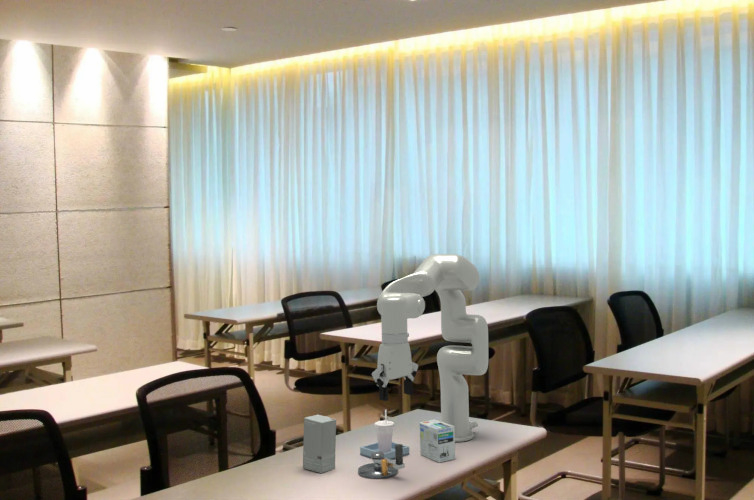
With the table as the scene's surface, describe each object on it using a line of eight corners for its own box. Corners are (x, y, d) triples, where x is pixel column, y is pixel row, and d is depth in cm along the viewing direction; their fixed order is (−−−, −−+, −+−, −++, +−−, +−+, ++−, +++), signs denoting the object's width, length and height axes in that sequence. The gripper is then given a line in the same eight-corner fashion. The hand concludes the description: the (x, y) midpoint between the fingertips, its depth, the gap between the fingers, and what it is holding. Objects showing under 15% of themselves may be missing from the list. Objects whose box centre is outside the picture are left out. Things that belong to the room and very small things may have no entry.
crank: (368, 461, 242) (367, 439, 242) (377, 458, 245) (377, 436, 245) (397, 470, 234) (396, 447, 233) (406, 466, 237) (406, 444, 236)
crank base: (379, 463, 251) (379, 445, 251) (406, 472, 242) (406, 454, 241) (350, 472, 243) (349, 454, 243) (376, 482, 234) (376, 463, 234)
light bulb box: (456, 459, 253) (455, 425, 252) (438, 463, 249) (437, 429, 249) (436, 451, 262) (435, 418, 262) (419, 454, 259) (418, 421, 258)
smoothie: (393, 456, 256) (392, 412, 255) (373, 455, 257) (372, 412, 257) (396, 450, 262) (395, 407, 262) (377, 449, 263) (376, 407, 263)
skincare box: (302, 468, 248) (300, 418, 247) (318, 463, 253) (317, 413, 252) (321, 474, 242) (320, 422, 241) (338, 468, 248) (336, 417, 247)
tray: (386, 447, 268) (385, 439, 267) (409, 454, 259) (409, 446, 259) (360, 454, 260) (360, 447, 260) (383, 462, 252) (383, 454, 252)
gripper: (407, 333, 242) (408, 390, 243) (363, 341, 231) (365, 400, 232) (425, 336, 237) (426, 394, 237) (381, 344, 225) (382, 404, 226)
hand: (396, 397), depth 235 cm, fingers open, 9 cm apart
